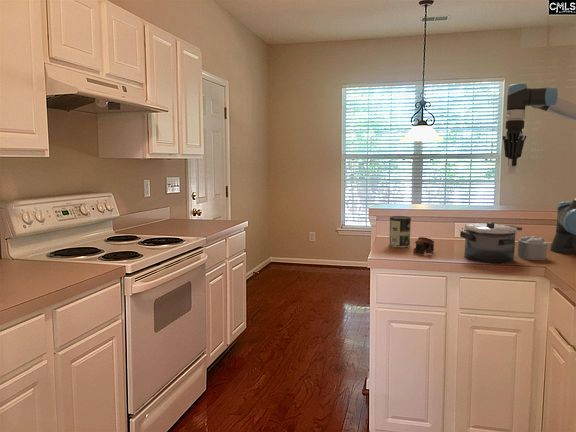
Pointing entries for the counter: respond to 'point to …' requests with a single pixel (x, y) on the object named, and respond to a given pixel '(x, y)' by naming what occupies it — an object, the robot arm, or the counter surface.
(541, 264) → the counter surface
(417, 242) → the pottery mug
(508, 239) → the pot
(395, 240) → the coffee can
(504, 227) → the lid
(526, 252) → the lumpy-topped squat cylinder
